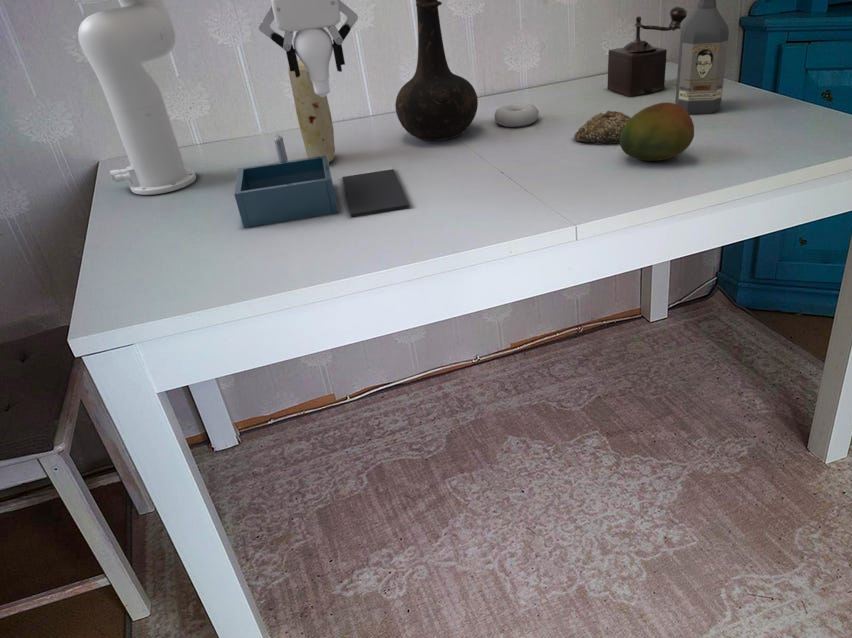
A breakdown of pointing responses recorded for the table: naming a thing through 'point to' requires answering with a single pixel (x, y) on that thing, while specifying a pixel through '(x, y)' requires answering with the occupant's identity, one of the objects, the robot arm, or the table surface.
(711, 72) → the liquor
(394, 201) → the mat
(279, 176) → the sink
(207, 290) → the table surface
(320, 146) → the food model
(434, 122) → the dark brown vase
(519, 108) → the donut
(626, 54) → the manual coffee grinder
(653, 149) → the fruit
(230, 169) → the table surface
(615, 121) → the bread roll
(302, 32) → the lightbulb
